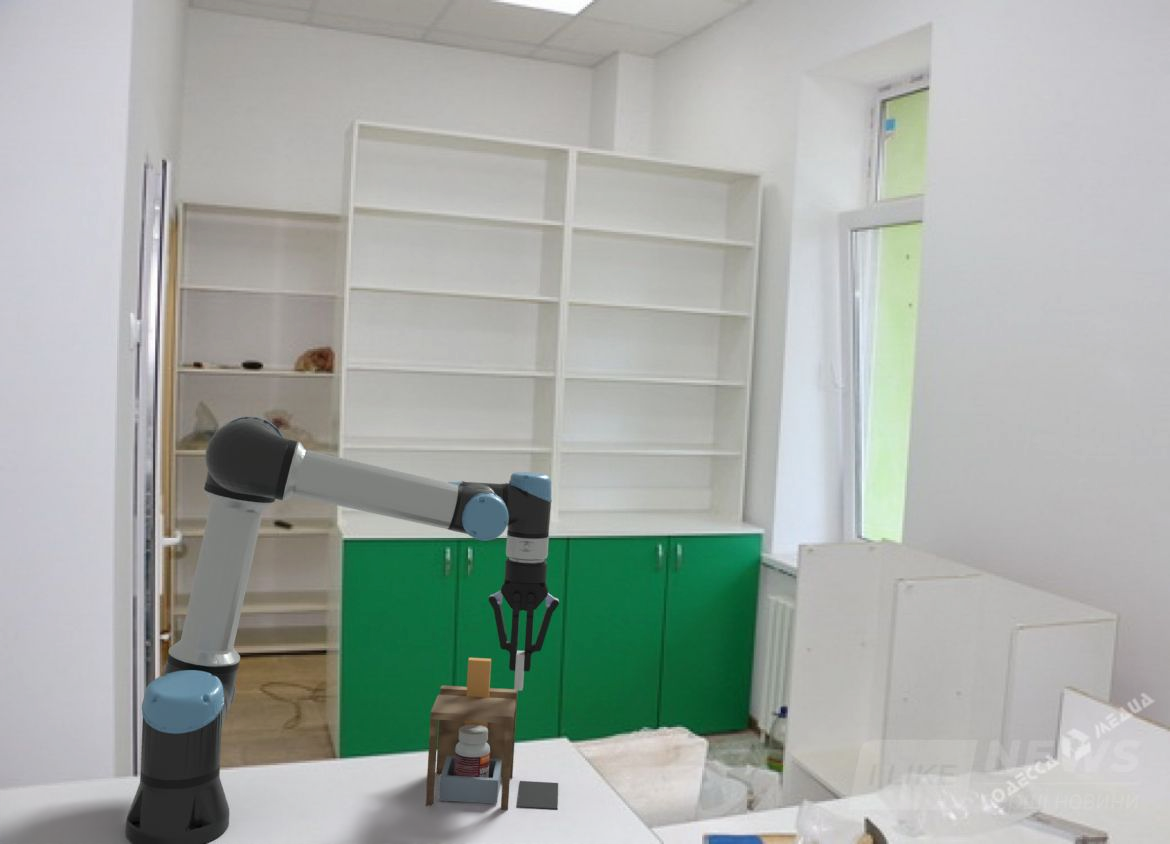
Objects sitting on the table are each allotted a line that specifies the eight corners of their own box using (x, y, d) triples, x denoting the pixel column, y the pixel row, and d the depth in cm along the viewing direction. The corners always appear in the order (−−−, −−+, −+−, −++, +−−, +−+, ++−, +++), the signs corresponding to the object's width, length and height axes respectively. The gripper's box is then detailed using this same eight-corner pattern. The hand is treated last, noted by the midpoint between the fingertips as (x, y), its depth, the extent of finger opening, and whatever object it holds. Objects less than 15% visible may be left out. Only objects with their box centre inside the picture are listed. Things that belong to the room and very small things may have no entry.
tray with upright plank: (438, 800, 178) (445, 673, 177) (445, 776, 188) (452, 656, 187) (496, 803, 178) (504, 676, 177) (500, 779, 188) (507, 659, 187)
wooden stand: (425, 805, 176) (430, 712, 175) (436, 771, 191) (441, 685, 190) (507, 810, 176) (513, 716, 175) (512, 775, 191) (517, 689, 190)
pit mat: (516, 807, 177) (516, 806, 177) (519, 781, 188) (520, 780, 188) (557, 809, 178) (557, 808, 178) (558, 783, 189) (558, 782, 189)
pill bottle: (485, 800, 179) (488, 736, 179) (450, 798, 180) (453, 734, 179) (490, 786, 186) (493, 724, 185) (456, 784, 186) (459, 722, 185)
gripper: (488, 560, 182) (480, 692, 183) (562, 565, 182) (554, 696, 183) (491, 553, 189) (484, 679, 190) (562, 557, 189) (554, 684, 190)
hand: (518, 688), depth 187 cm, fingers closed
